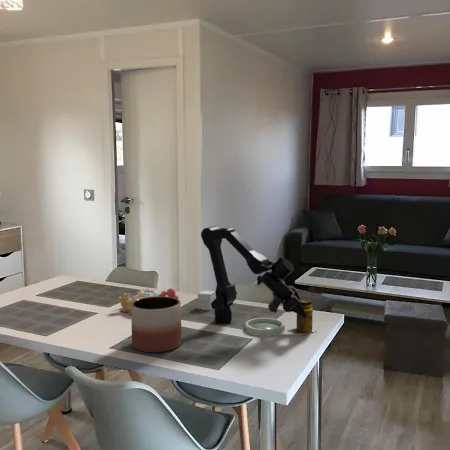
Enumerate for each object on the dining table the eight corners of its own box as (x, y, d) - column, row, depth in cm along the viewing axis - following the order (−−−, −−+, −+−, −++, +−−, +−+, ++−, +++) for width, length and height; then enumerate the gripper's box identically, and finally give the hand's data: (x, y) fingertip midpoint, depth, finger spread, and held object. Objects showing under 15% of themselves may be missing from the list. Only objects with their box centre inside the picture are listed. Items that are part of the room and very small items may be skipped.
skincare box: (210, 310, 222) (210, 294, 221) (197, 309, 224) (197, 293, 223) (215, 306, 227) (215, 291, 227) (202, 305, 230) (202, 290, 229)
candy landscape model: (152, 320, 210) (152, 299, 209) (110, 313, 221) (109, 292, 220) (186, 305, 231) (185, 286, 230) (145, 299, 243) (145, 280, 242)
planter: (174, 355, 171) (173, 310, 169) (124, 352, 174) (122, 308, 172) (187, 337, 188) (186, 296, 186) (141, 335, 191) (140, 295, 189)
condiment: (317, 331, 192) (317, 301, 191) (300, 336, 188) (300, 305, 186) (304, 326, 199) (304, 297, 197) (287, 331, 194) (287, 300, 192)
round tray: (247, 336, 188) (247, 330, 188) (243, 323, 203) (243, 318, 203) (287, 334, 189) (287, 329, 189) (280, 322, 204) (280, 317, 204)
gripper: (261, 293, 202) (288, 320, 202) (260, 306, 183) (291, 336, 184) (280, 274, 200) (308, 301, 201) (282, 285, 182) (313, 315, 182)
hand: (304, 313), depth 192 cm, fingers open, 9 cm apart
